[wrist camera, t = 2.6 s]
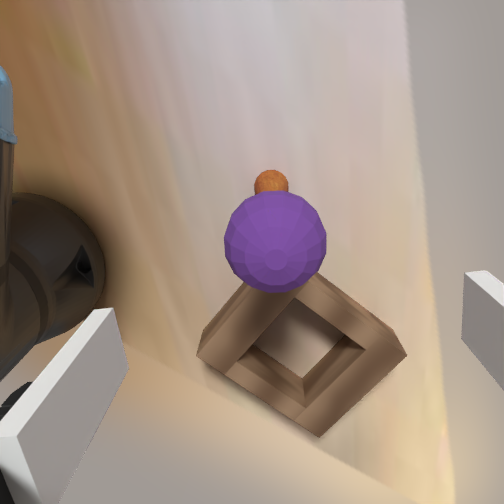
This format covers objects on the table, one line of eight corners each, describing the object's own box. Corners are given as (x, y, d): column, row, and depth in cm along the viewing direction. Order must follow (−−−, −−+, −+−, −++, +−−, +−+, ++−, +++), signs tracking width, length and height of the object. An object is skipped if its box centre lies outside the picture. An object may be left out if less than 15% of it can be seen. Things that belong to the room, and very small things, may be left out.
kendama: (264, 228, 42) (263, 329, 23) (228, 180, 41) (196, 247, 22) (314, 193, 41) (355, 271, 22) (278, 142, 39) (290, 180, 21)
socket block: (203, 330, 46) (196, 355, 42) (277, 242, 43) (278, 259, 38) (314, 405, 49) (319, 437, 45) (392, 329, 46) (407, 355, 41)
